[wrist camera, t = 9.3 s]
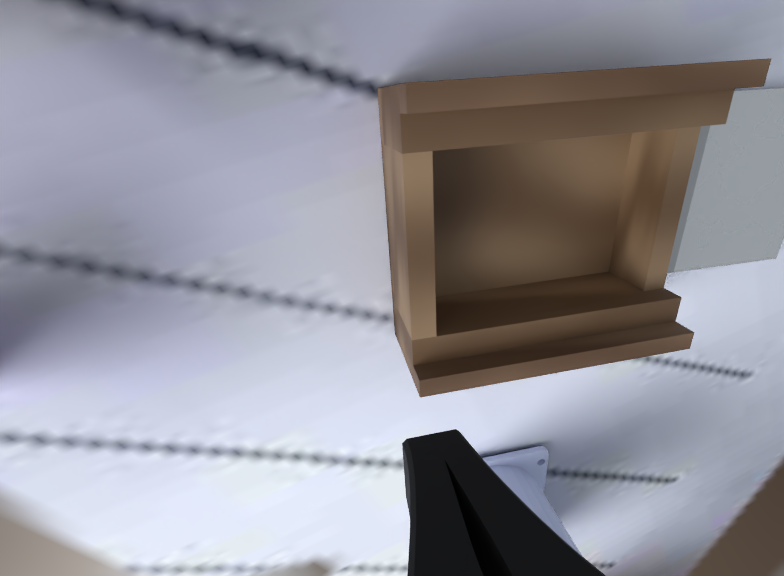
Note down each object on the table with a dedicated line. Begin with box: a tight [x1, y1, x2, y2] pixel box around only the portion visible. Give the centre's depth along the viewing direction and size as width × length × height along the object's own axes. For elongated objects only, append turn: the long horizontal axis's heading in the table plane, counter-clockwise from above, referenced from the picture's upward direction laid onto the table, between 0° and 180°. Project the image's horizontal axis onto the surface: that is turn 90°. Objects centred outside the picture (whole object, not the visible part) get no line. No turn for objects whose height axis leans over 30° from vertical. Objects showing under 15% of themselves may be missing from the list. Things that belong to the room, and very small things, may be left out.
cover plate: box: [667, 88, 784, 273], centre depth 20 cm, size 9×9×2 cm
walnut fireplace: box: [378, 59, 771, 397], centre depth 17 cm, size 11×12×5 cm
